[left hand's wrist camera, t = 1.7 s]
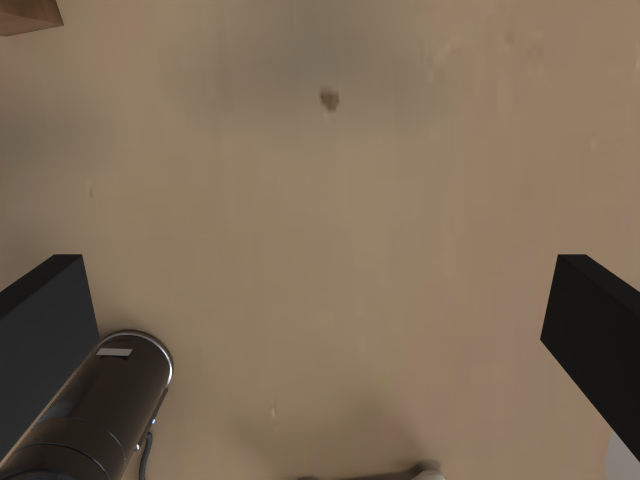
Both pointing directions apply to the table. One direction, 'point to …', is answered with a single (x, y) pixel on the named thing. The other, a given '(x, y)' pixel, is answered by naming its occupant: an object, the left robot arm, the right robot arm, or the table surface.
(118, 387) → the right robot arm
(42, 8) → the bar
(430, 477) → the dog toy
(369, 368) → the table surface
